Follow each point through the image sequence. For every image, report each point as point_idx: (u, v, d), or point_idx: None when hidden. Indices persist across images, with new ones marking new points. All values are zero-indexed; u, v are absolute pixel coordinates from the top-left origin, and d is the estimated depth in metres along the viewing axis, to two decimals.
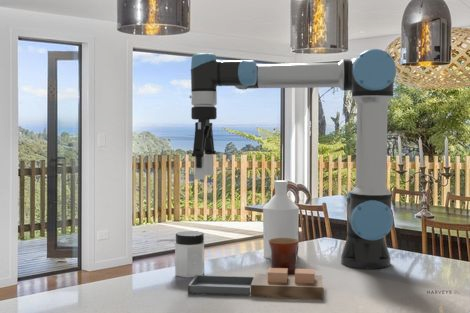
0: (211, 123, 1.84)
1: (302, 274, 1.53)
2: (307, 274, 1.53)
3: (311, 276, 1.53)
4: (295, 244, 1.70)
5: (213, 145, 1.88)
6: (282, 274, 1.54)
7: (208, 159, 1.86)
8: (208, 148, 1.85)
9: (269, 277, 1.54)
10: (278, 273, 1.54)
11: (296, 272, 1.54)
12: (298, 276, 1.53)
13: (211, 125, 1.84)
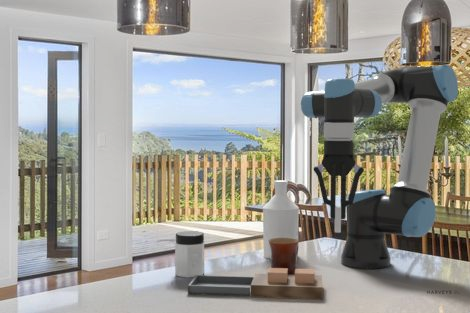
0: (360, 167, 1.51)
1: (302, 274, 1.53)
2: (307, 274, 1.53)
3: (311, 276, 1.53)
4: (295, 244, 1.70)
5: (352, 196, 1.52)
6: (282, 274, 1.54)
7: None
8: None
9: (269, 277, 1.54)
10: (278, 273, 1.54)
11: (296, 272, 1.54)
12: (298, 276, 1.53)
13: (359, 169, 1.51)
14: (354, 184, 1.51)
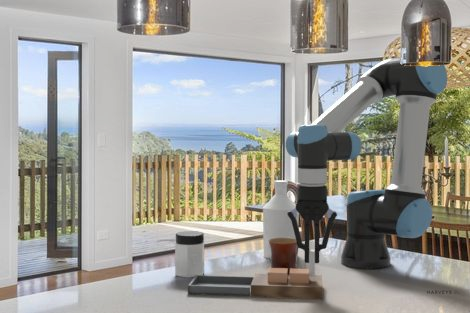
0: (334, 212, 1.53)
1: (297, 274, 1.53)
2: (302, 274, 1.53)
3: (305, 275, 1.53)
4: (295, 244, 1.70)
5: (325, 240, 1.53)
6: (282, 274, 1.54)
7: None
8: None
9: (269, 277, 1.54)
10: (278, 273, 1.54)
11: (291, 272, 1.54)
12: (293, 276, 1.53)
13: (332, 214, 1.53)
14: (327, 229, 1.53)
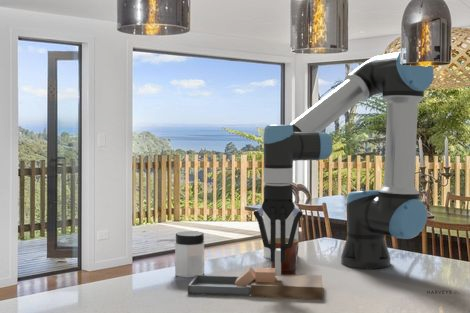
0: (299, 211, 1.54)
1: (262, 273, 1.54)
2: (267, 273, 1.54)
3: (271, 274, 1.54)
4: (295, 244, 1.70)
5: (291, 239, 1.54)
6: (246, 275, 1.55)
7: None
8: None
9: (239, 286, 1.55)
10: (243, 277, 1.55)
11: (257, 271, 1.55)
12: (258, 275, 1.55)
13: (297, 213, 1.54)
14: (293, 228, 1.54)
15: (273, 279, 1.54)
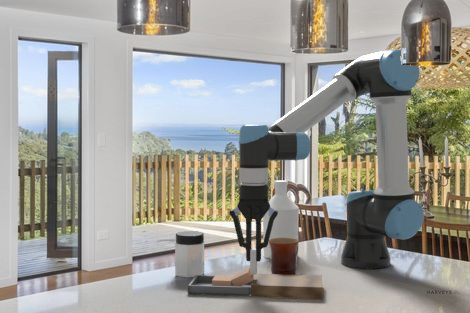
0: (274, 211, 1.55)
1: (237, 278, 1.55)
2: (242, 276, 1.55)
3: (246, 276, 1.55)
4: (295, 244, 1.70)
5: (266, 239, 1.55)
6: None
7: None
8: None
9: (229, 285, 1.56)
10: None
11: (232, 278, 1.56)
12: (235, 281, 1.56)
13: (272, 213, 1.55)
14: (268, 227, 1.55)
15: (249, 279, 1.55)
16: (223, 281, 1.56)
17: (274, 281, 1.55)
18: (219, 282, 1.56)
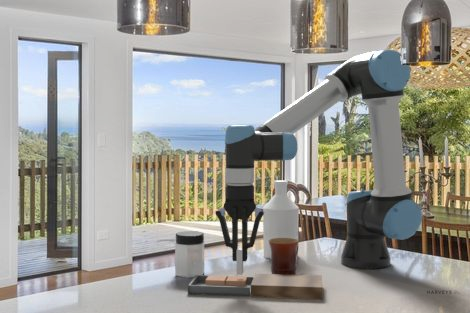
0: (260, 211, 1.55)
1: (233, 281, 1.56)
2: (238, 281, 1.55)
3: (241, 283, 1.55)
4: (295, 244, 1.70)
5: (252, 239, 1.56)
6: None
7: None
8: None
9: (222, 285, 1.56)
10: None
11: (228, 279, 1.57)
12: (229, 283, 1.56)
13: (258, 213, 1.55)
14: (254, 227, 1.55)
15: None
16: (216, 281, 1.56)
17: (274, 281, 1.55)
18: (212, 282, 1.56)
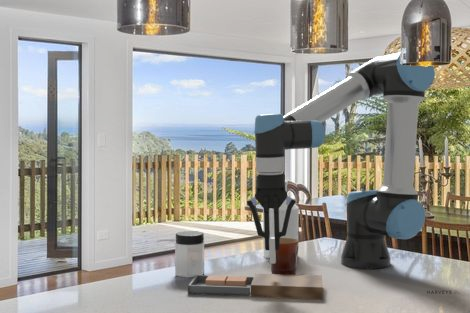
0: (292, 200, 1.55)
1: (233, 281, 1.56)
2: (238, 281, 1.55)
3: (241, 283, 1.55)
4: (295, 244, 1.70)
5: (284, 227, 1.56)
6: None
7: None
8: None
9: (222, 285, 1.56)
10: None
11: (228, 279, 1.57)
12: (229, 283, 1.56)
13: (290, 201, 1.55)
14: (286, 216, 1.55)
15: None
16: (216, 281, 1.56)
17: (274, 281, 1.55)
18: (212, 282, 1.56)
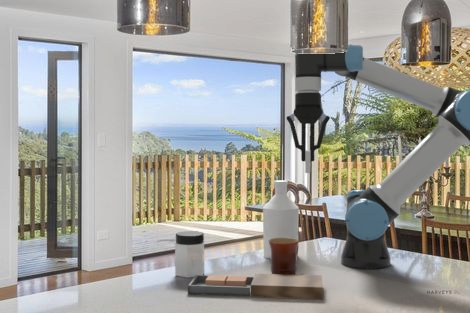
0: (327, 116, 1.74)
1: (233, 281, 1.56)
2: (238, 281, 1.55)
3: (241, 283, 1.55)
4: (295, 244, 1.70)
5: (319, 141, 1.75)
6: None
7: None
8: (310, 141, 1.76)
9: (222, 285, 1.56)
10: None
11: (228, 279, 1.57)
12: (229, 283, 1.56)
13: (325, 117, 1.74)
14: (321, 130, 1.75)
15: None
16: (216, 281, 1.56)
17: (274, 281, 1.55)
18: (212, 282, 1.56)
